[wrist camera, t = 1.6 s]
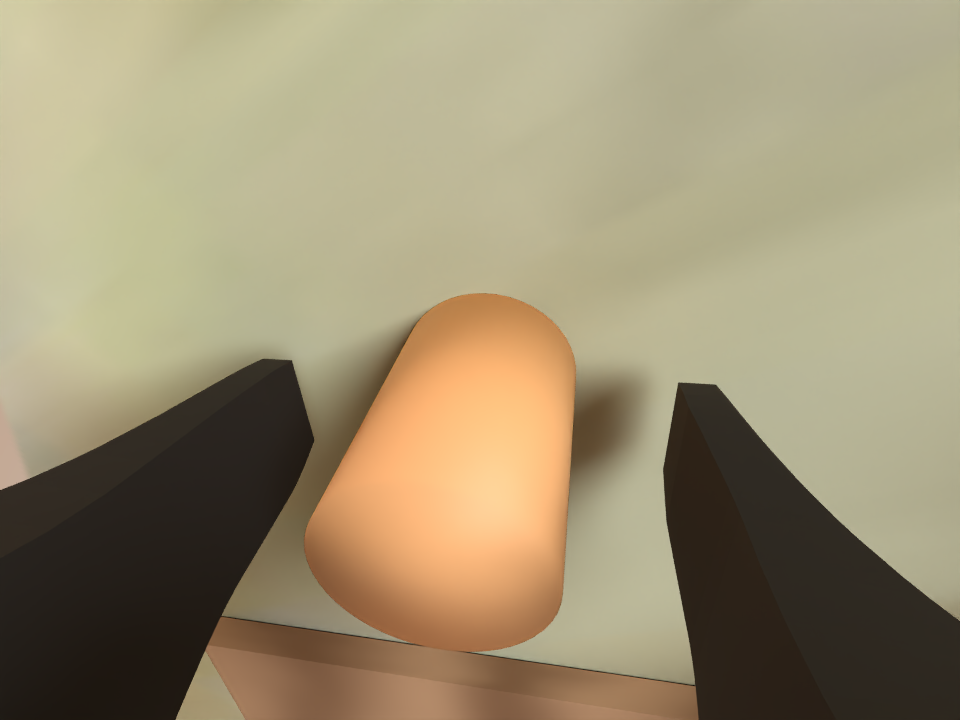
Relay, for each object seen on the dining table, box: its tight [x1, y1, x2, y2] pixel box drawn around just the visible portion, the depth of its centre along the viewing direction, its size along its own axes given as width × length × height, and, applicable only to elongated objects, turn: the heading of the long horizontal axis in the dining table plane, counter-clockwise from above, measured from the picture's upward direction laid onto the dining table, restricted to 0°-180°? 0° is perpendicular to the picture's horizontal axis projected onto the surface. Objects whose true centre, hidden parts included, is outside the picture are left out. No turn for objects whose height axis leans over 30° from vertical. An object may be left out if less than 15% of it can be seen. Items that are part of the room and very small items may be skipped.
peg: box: [304, 293, 576, 652], centre depth 10 cm, size 4×4×5 cm
